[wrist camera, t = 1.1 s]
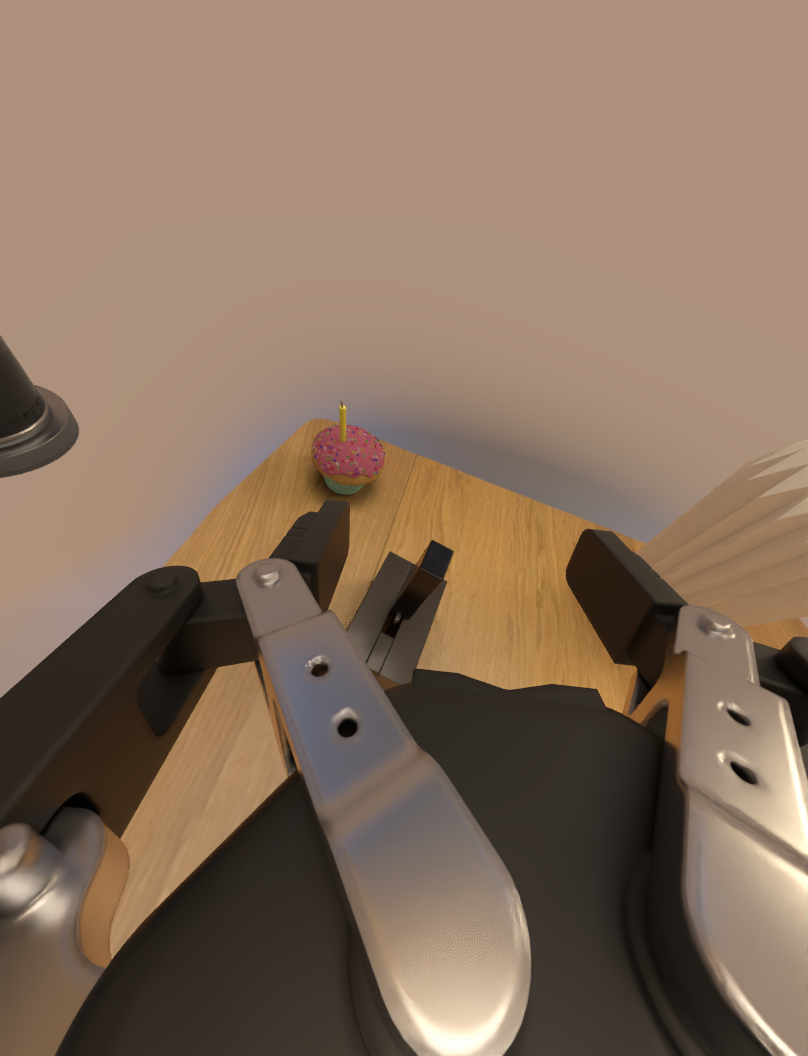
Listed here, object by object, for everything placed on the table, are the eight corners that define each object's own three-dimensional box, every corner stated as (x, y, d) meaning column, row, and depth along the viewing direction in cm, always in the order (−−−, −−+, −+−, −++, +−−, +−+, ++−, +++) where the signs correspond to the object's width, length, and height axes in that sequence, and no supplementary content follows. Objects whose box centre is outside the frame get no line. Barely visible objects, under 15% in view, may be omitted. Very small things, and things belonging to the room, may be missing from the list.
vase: (575, 550, 46) (807, 381, 25) (659, 596, 45) (965, 463, 25) (567, 630, 38) (901, 477, 17) (669, 688, 37) (1142, 602, 17)
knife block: (327, 668, 28) (335, 650, 23) (376, 579, 34) (390, 551, 30) (388, 701, 28) (408, 689, 23) (425, 605, 34) (447, 581, 30)
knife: (367, 644, 30) (417, 572, 19) (380, 616, 32) (433, 535, 20) (382, 652, 30) (441, 585, 19) (394, 624, 32) (455, 547, 20)
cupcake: (328, 515, 37) (342, 433, 28) (296, 464, 40) (299, 375, 31) (388, 494, 42) (417, 418, 32) (356, 450, 45) (374, 369, 35)
